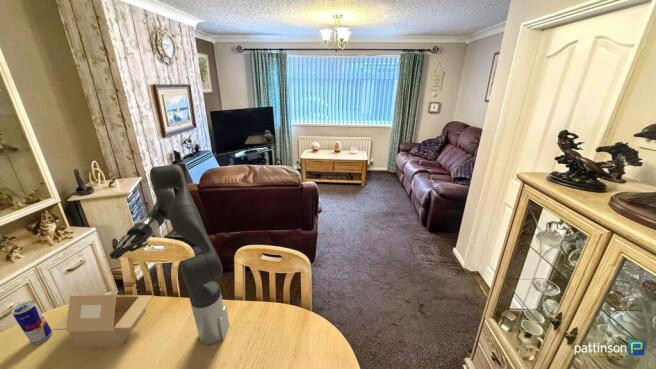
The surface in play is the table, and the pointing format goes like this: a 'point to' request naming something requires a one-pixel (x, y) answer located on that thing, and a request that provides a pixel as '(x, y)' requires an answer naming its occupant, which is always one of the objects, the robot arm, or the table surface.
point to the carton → (124, 323)
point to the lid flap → (91, 313)
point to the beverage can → (32, 322)
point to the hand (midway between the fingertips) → (113, 256)
